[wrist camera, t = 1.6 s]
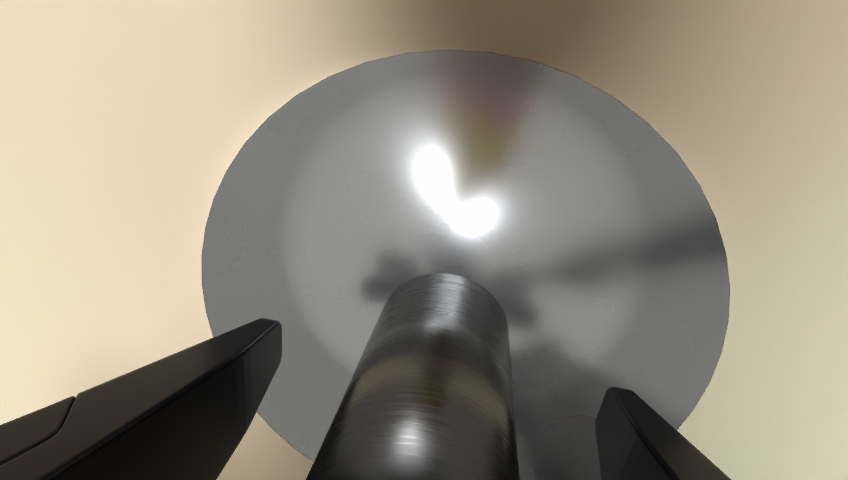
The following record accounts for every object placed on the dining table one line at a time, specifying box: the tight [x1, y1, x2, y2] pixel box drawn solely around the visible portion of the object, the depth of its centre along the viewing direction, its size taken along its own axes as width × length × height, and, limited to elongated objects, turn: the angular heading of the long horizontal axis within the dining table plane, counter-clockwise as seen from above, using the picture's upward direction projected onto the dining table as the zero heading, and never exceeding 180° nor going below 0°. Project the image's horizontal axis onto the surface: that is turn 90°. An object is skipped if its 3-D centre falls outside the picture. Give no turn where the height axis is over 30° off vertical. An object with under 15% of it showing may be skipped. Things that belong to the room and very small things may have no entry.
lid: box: [202, 50, 730, 480], centre depth 8 cm, size 12×12×6 cm
